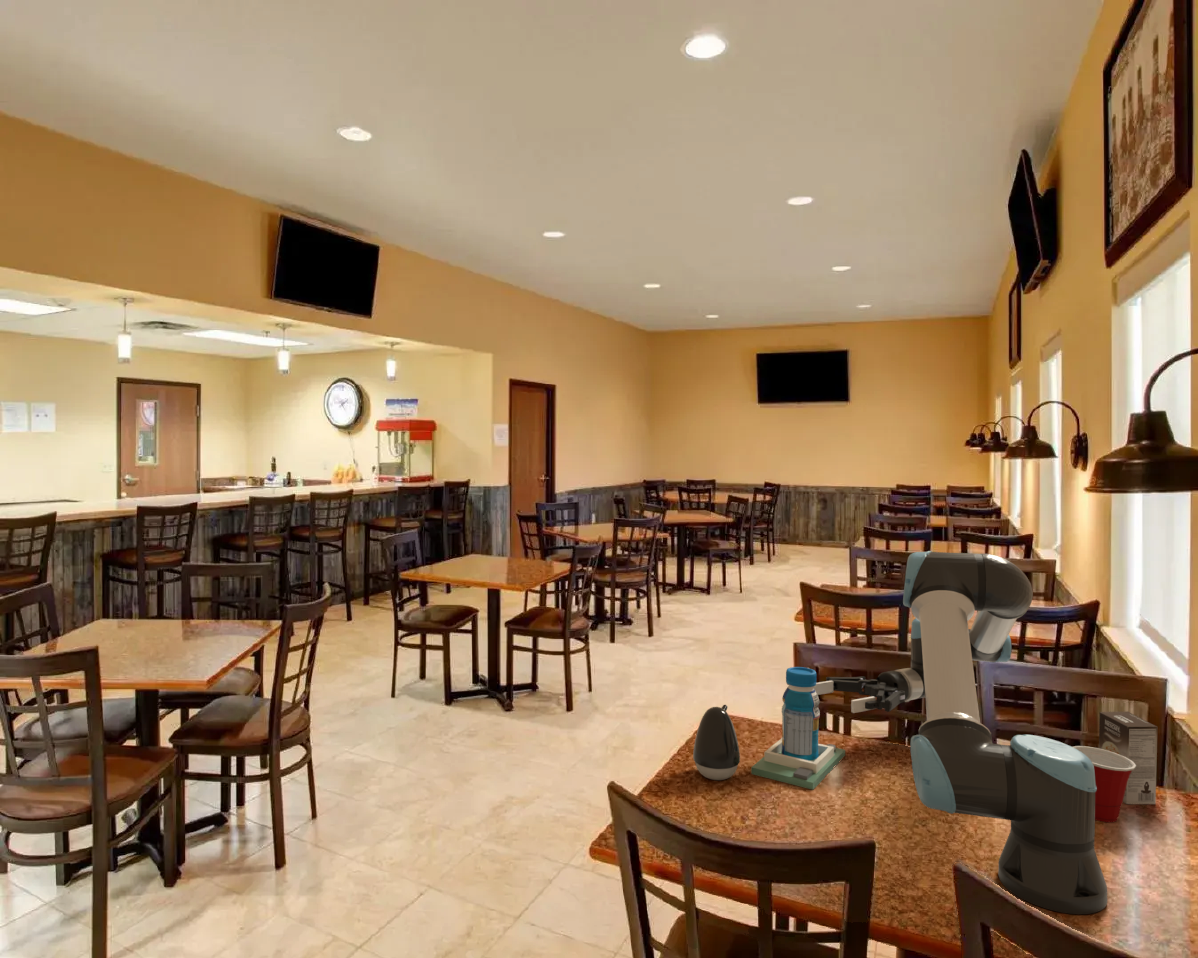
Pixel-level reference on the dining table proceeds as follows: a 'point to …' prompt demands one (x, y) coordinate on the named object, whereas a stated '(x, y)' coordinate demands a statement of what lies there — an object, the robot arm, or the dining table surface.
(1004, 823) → the dining table surface
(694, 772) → the dining table surface
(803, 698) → the beverage bottle
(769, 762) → the board
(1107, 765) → the plastic cup
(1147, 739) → the coffee box
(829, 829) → the dining table surface
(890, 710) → the robot arm
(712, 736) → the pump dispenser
